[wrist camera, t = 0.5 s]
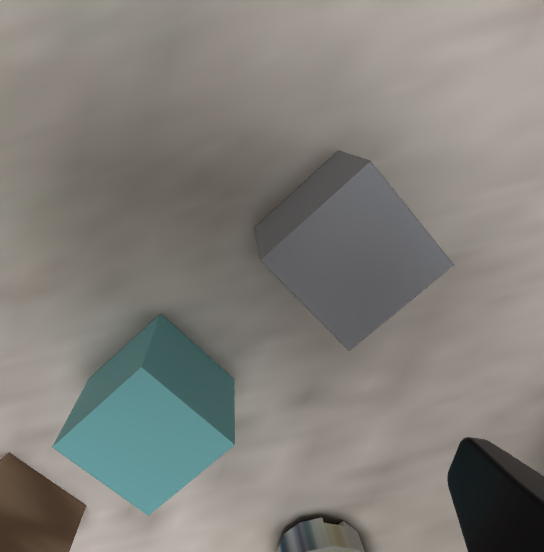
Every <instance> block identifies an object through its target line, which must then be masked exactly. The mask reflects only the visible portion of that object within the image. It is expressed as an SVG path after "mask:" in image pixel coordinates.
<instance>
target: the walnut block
mask: <svg viewBox="0 0 544 552" xmlns="http://www.w3.org/2000/svg"><path fill="white" fill-rule="evenodd" d="M85 507H86V505H85V504H84V503H82V502H81V501H79V500H78V499H76V498H75V497H73V496H72V495H70V494H69V493H68V492H66V491H65V490H63V489H62V488H60V487H59V486H57V485H56V484H54V483H53V482H51V481H50V480H49V479H47V478H46V477H44V476H43V475H41V474H40V473H38V472H37V471H35V470H34V469H32V468H31V467H30V466H28V465H27V464H25V463H24V462H22V461H21V460H19V459H18V458H16V457H15V456H14V455H12V454H11V453H8V454H7V455H6V456H4V457H3V458H2V459H1V460H0V552H69V551H70V548H71V545H72V542H73V540H74V537H75V534H76V532H77V529H78V526H79V524H80V521H81V518H82V516H83V513H84V510H85Z"/></svg>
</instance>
